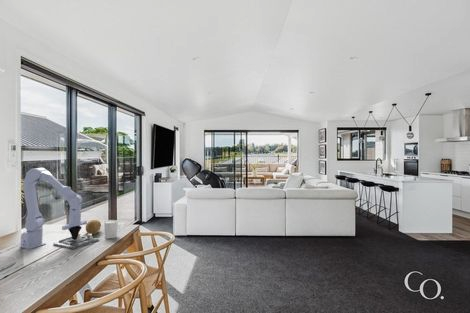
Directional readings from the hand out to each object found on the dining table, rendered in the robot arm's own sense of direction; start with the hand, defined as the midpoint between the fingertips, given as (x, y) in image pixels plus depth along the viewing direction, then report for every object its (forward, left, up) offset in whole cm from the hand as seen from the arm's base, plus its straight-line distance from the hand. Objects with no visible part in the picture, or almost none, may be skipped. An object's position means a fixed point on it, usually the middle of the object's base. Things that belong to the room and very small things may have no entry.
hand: (74, 239), depth 160 cm
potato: (+20, +7, -3) cm, 21 cm away
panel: (+2, 0, -3) cm, 3 cm away
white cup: (+19, -9, -3) cm, 21 cm away
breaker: (+2, 0, -1) cm, 3 cm away
